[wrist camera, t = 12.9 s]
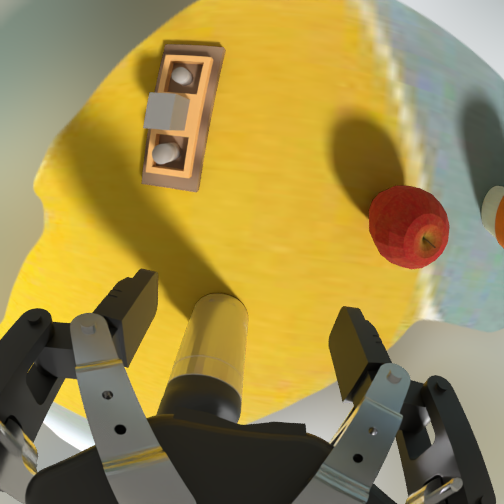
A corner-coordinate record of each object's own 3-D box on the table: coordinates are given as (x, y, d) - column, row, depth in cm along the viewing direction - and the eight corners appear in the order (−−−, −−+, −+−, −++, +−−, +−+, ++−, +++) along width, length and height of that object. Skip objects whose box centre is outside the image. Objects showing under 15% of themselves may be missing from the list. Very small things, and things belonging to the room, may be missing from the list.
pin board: (198, 190, 38) (187, 200, 32) (145, 181, 37) (127, 190, 32) (225, 50, 30) (218, 36, 24) (168, 47, 29) (153, 34, 24)
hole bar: (191, 176, 36) (174, 187, 29) (149, 170, 35) (125, 180, 28) (213, 60, 29) (201, 43, 22) (169, 57, 29) (148, 42, 22)
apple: (416, 176, 35) (473, 199, 23) (413, 239, 39) (461, 281, 26) (353, 178, 36) (396, 202, 23) (355, 245, 40) (390, 295, 27)
